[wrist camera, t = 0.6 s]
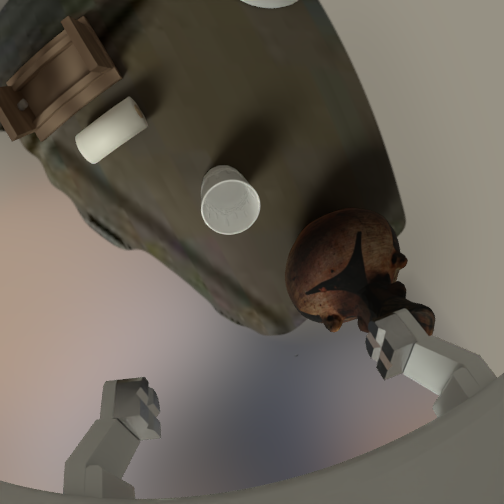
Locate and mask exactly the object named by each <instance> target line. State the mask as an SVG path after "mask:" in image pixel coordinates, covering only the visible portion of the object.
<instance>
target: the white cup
mask: <svg viewBox="0 0 504 504" xmlns="http://www.w3.org/2000/svg"><path fill="white" fill-rule="evenodd" d="M259 211H260V199H259V196H258V194H257V192H256V191H255V189H254V188H253V187H252V186H251V185H250V183H249V182H248V181H247V180H246V178H245V177H244V176H243V175H242V174H240V173H239V172H238V170H237V169H235V168H233V167H231V166H228V165H218V166H216V167H214V168H212V169H210V170H209V171H208V172H207V173H206V175H205V176H204V178H203V182H202V188H201V213H202V217H203V219H204V221H205V223H206V224H207V225H208V226H209V227H210V228H211V229H212V230H214V231H216V232H218V233H221V234H237V233H240V232H242V231H244V230H246V229H248V228H249V227H250V226H251V225H252V224H253V223H254V222H255V220H256V219H257V217H258V215H259Z"/></svg>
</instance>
